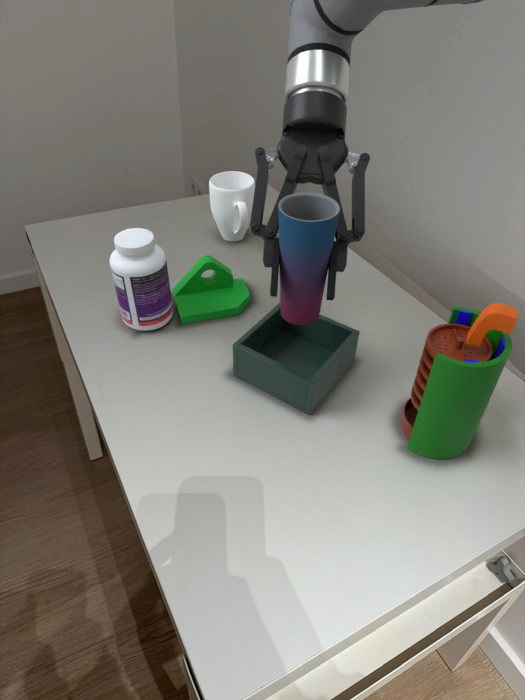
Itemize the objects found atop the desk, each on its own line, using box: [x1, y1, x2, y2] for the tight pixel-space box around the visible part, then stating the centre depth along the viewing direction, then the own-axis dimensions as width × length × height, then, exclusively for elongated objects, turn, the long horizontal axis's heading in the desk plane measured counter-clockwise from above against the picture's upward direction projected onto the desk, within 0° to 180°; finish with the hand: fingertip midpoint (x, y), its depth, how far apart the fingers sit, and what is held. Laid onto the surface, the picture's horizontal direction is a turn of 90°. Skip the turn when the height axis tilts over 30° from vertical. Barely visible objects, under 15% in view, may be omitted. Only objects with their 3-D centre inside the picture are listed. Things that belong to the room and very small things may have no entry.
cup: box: [278, 191, 340, 325], centre depth 62 cm, size 7×7×15 cm
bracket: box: [171, 254, 251, 325], centre depth 82 cm, size 12×8×7 cm, turn 107°
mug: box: [208, 170, 256, 242], centre depth 96 cm, size 12×8×11 cm
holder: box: [232, 302, 361, 416], centre depth 72 cm, size 13×13×6 cm
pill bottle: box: [109, 227, 174, 332], centre depth 77 cm, size 8×8×14 cm
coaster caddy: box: [400, 302, 519, 460], centre depth 60 cm, size 10×9×20 cm
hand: (301, 296), depth 60 cm, fingers closed on cup, 6 cm apart
